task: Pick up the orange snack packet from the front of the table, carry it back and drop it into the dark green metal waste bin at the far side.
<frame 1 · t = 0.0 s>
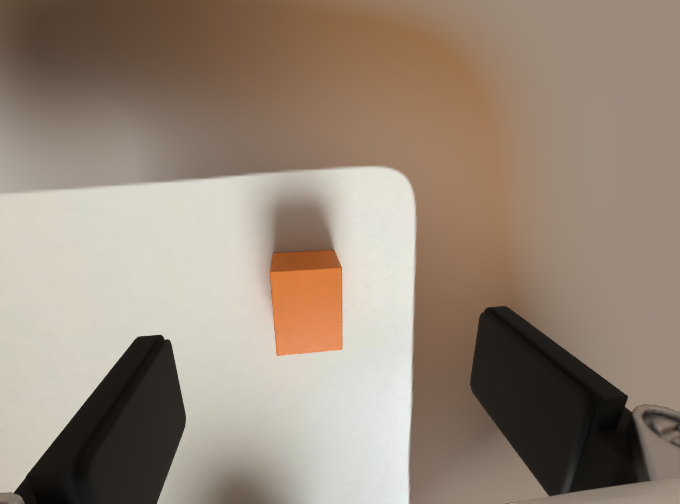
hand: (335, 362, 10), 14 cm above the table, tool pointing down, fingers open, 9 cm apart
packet: (305, 289, 24), on the table
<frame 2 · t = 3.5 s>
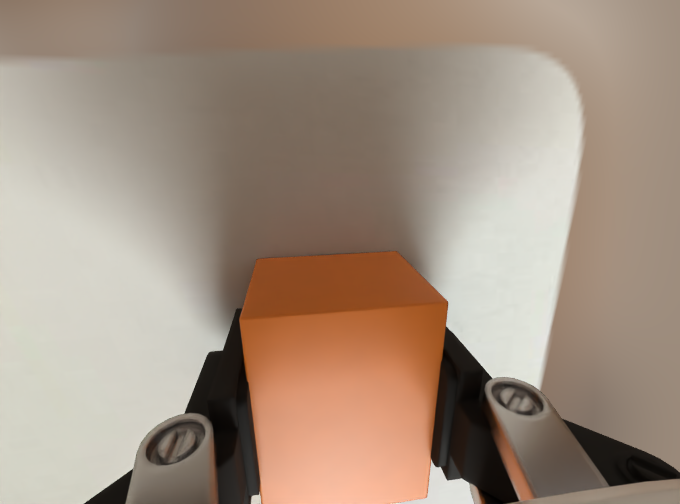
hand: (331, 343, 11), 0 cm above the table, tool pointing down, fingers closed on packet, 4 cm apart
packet: (330, 337, 11), on the table, touching gripper
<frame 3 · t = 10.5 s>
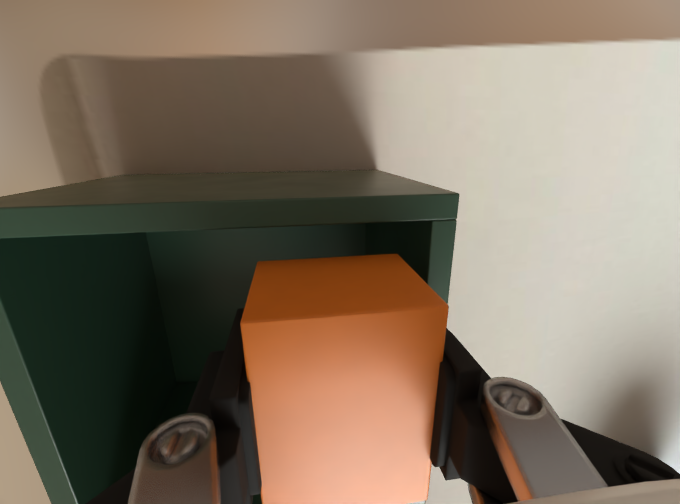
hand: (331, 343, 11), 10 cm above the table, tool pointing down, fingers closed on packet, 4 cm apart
bin: (266, 285, 20), on the table
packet: (330, 339, 11), point 9 cm above the table, touching gripper
when the fingers open (9 cm above the table, at t = 10.7 s): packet drops 9 cm, resting on bin.
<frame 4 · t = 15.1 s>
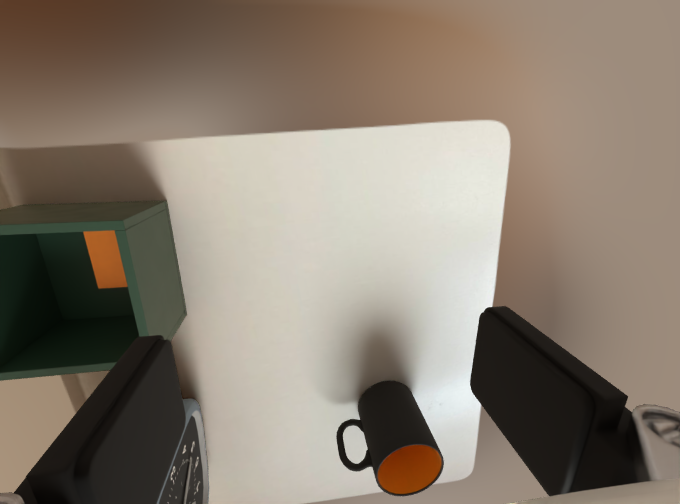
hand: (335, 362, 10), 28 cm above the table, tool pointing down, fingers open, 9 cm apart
bin: (112, 264, 35), on the table
alarm clock: (172, 437, 44), on the table
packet: (132, 247, 35), point 1 cm above the table, touching bin
mug: (372, 405, 47), on the table
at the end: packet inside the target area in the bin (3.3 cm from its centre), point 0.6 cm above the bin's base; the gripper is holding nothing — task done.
